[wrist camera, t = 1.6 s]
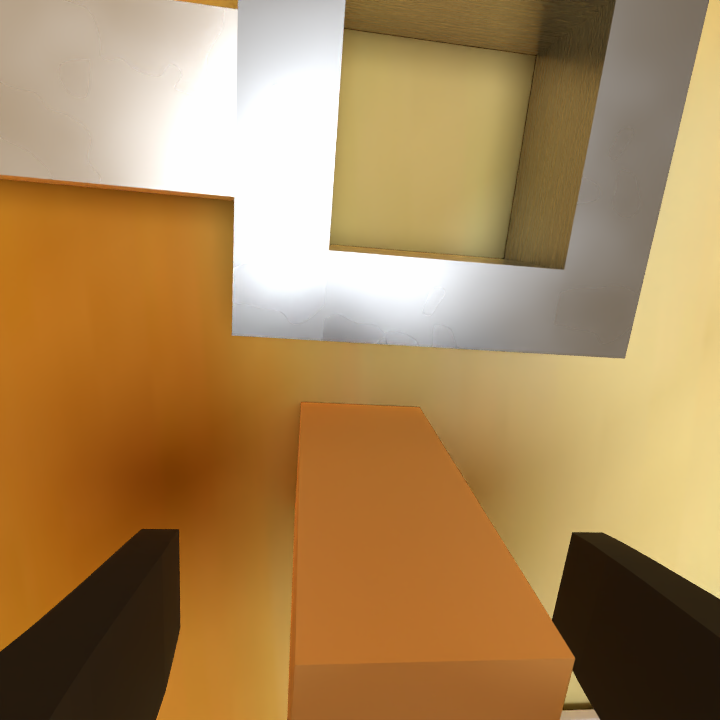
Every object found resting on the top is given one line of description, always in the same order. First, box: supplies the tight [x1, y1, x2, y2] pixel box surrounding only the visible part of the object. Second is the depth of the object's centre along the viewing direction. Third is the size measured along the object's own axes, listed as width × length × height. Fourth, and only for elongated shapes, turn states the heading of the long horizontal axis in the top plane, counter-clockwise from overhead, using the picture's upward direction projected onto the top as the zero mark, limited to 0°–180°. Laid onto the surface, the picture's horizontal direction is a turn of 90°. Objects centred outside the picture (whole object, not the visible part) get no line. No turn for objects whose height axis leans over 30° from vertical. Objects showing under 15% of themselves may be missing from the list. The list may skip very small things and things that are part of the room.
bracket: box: [0, 0, 709, 358], centre depth 10 cm, size 15×8×3 cm, turn 85°
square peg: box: [287, 402, 575, 720], centre depth 10 cm, size 3×3×8 cm
